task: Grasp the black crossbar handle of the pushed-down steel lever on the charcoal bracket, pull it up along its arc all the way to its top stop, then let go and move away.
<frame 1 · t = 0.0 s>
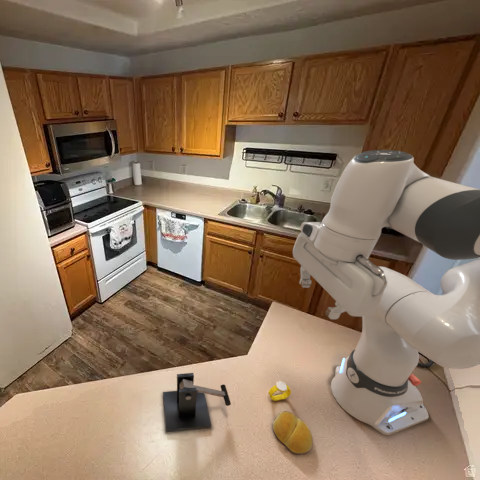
hand: (316, 300, 54), 39 cm above the counter, tool pointing down, fingers open, 8 cm apart
bracket: (185, 410, 72), on the counter
watch: (277, 398, 74), on the counter
bread roll: (290, 434, 67), on the counter
lever: (205, 390, 68), point 9 cm above the counter, hinge at -26.0°
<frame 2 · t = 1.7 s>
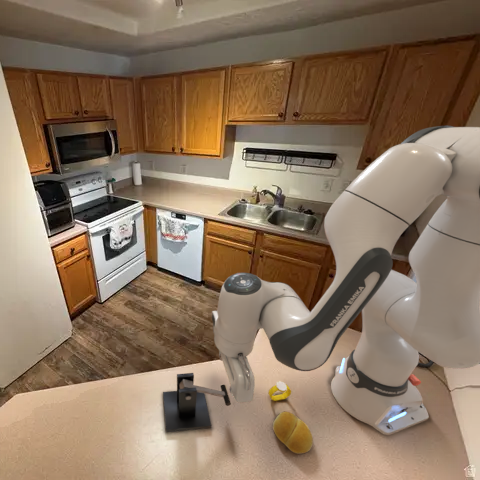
hand: (227, 374, 66), 15 cm above the counter, tool pointing down, fingers open, 8 cm apart
nothing on the counter moved.
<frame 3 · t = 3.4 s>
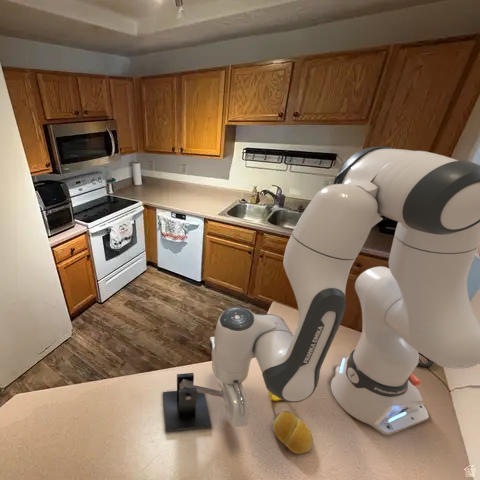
hand: (225, 396, 70), 5 cm above the counter, tool pointing down, fingers closed on lever, 5 cm apart
lever: (205, 390, 68), point 9 cm above the counter, hinge at -26.0°, touching gripper
everything else where it was.
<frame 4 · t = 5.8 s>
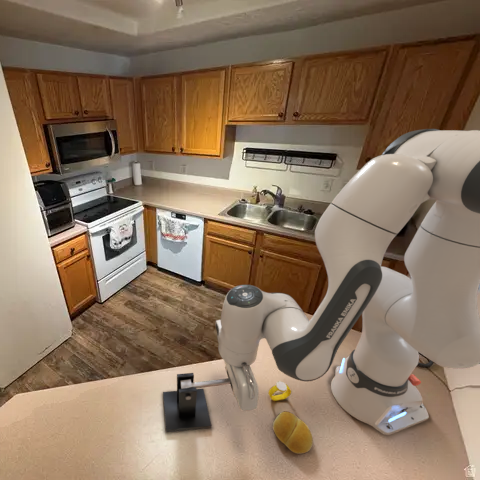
hand: (232, 381, 68), 11 cm above the counter, tool pointing down, fingers closed on lever, 5 cm apart
lever: (207, 383, 67), point 11 cm above the counter, hinge at 3.8°, touching gripper
everything else where it was.
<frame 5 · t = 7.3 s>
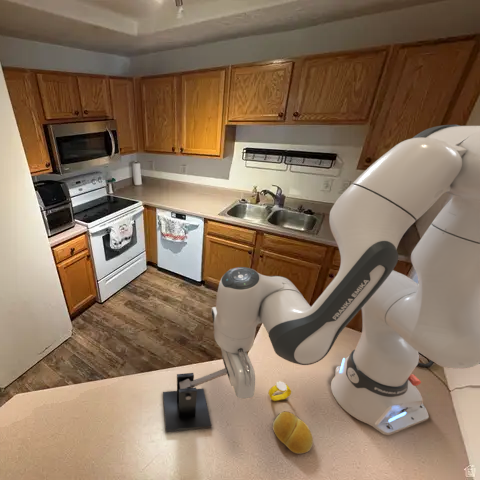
hand: (229, 370, 65), 16 cm above the counter, tool pointing down, fingers closed on lever, 5 cm apart
lever: (206, 378, 66), point 14 cm above the counter, hinge at 26.6°, touching gripper
everything else where it was.
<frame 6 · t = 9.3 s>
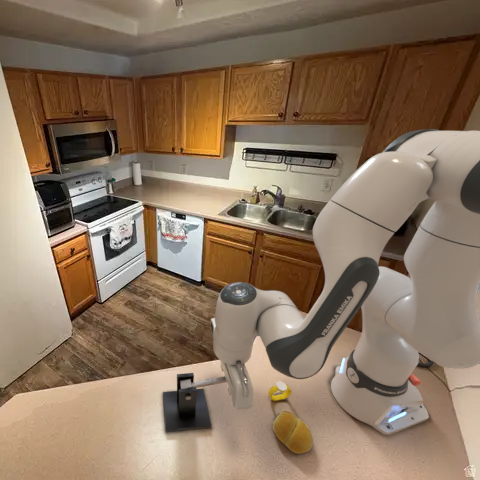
hand: (227, 380, 67), 12 cm above the counter, tool pointing down, fingers closed on lever, 5 cm apart
lever: (207, 382, 67), point 12 cm above the counter, hinge at 9.1°, touching gripper
everything else where it was.
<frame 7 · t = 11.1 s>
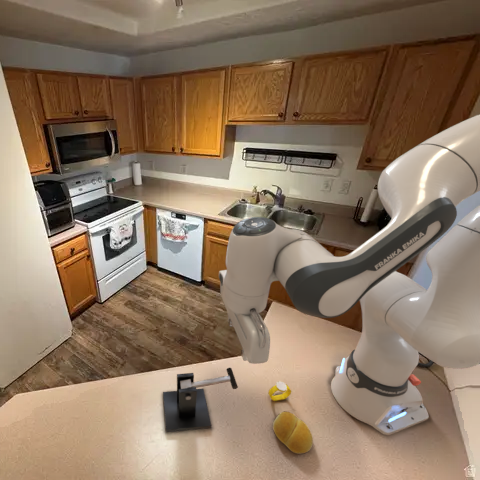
hand: (238, 339, 60), 27 cm above the counter, tool pointing down, fingers open, 8 cm apart
lever: (207, 382, 67), point 12 cm above the counter, hinge at 9.3°
everything else where it was.
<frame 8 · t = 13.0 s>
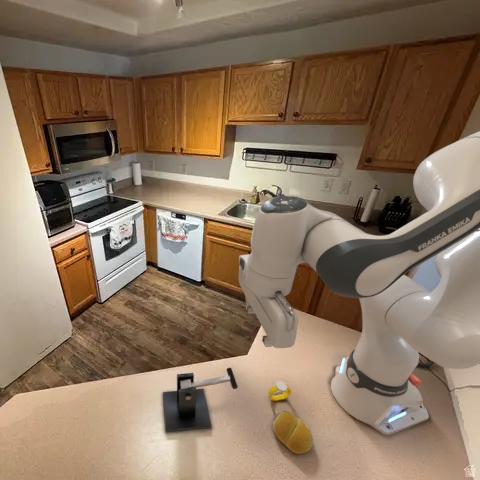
hand: (258, 326, 58), 31 cm above the counter, tool pointing down, fingers open, 8 cm apart
nothing on the counter moved.
at the end: lever reached +27° during the clip, +9° at the end; lever at +9° (first picture: -26°); the gripper is holding nothing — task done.
